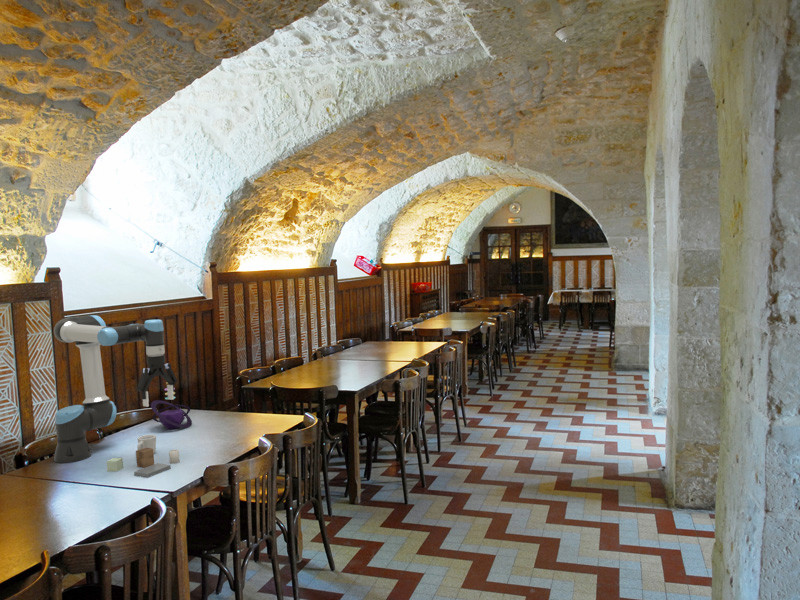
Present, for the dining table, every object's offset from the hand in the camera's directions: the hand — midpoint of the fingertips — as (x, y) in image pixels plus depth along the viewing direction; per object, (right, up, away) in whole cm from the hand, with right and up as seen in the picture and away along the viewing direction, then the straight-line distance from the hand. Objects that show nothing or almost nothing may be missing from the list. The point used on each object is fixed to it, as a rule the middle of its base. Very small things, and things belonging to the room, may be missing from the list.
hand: (158, 402), depth 272 cm
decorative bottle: (-16, -24, +60) cm, 67 cm away
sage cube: (-16, -28, -7) cm, 33 cm away
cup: (-11, -26, +13) cm, 31 cm away
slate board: (+2, -27, -12) cm, 30 cm away
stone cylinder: (+7, -26, 0) cm, 27 cm away
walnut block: (-5, -27, -3) cm, 27 cm away
